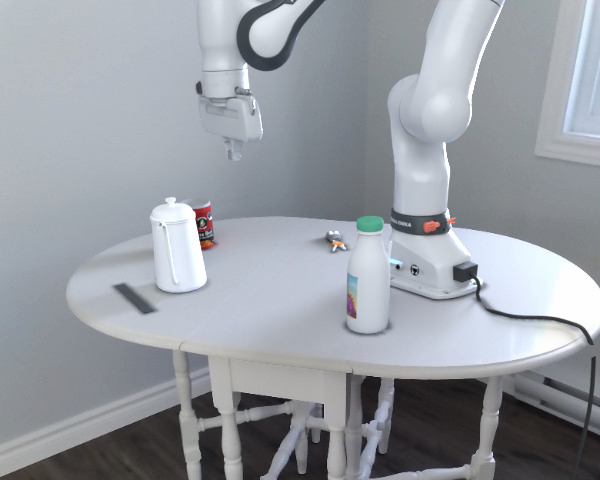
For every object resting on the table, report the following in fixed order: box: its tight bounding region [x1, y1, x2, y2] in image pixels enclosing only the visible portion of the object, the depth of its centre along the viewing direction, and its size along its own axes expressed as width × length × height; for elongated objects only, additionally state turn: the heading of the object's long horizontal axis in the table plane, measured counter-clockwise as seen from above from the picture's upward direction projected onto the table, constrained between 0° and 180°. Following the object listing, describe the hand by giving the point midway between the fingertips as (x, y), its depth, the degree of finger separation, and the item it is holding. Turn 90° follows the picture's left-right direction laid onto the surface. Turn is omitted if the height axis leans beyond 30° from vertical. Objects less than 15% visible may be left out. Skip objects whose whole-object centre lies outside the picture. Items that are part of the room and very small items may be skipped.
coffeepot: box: [149, 196, 207, 294], centre depth 134 cm, size 11×25×19 cm, turn 0°
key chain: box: [325, 230, 347, 252], centre depth 160 cm, size 13×4×2 cm, turn 6°
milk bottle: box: [346, 215, 391, 335], centre depth 114 cm, size 8×8×20 cm
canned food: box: [179, 197, 215, 251], centre depth 159 cm, size 8×8×11 cm
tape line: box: [114, 283, 155, 314], centre depth 134 cm, size 18×2×1 cm, turn 33°
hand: (234, 159), depth 132 cm, fingers closed
